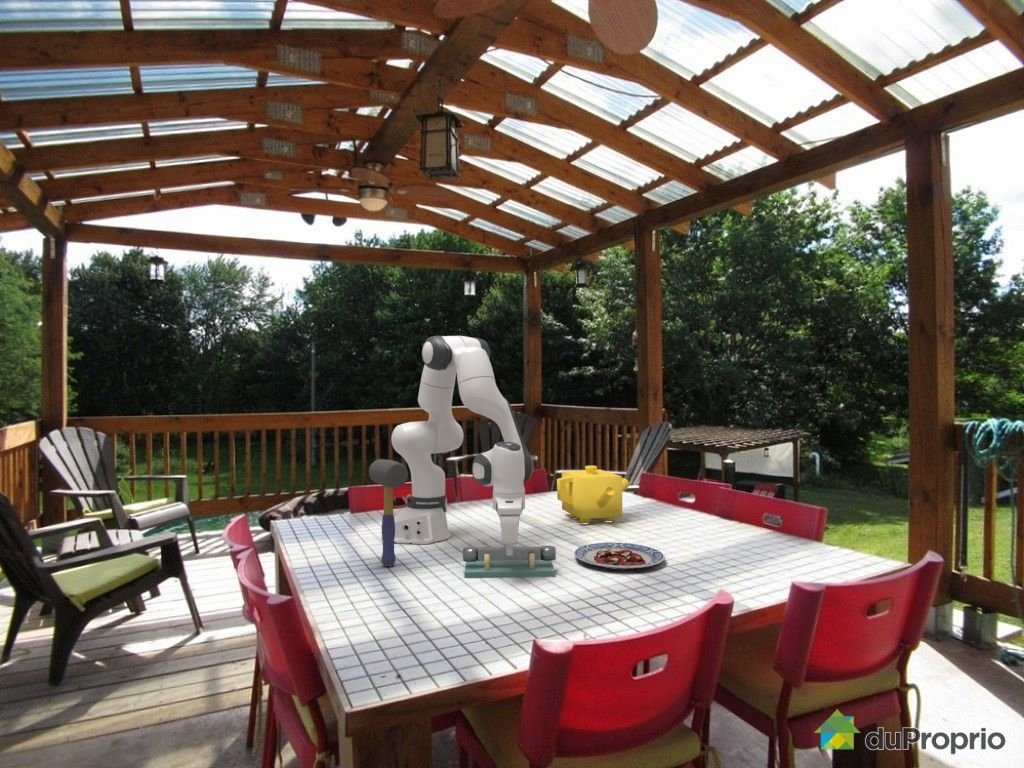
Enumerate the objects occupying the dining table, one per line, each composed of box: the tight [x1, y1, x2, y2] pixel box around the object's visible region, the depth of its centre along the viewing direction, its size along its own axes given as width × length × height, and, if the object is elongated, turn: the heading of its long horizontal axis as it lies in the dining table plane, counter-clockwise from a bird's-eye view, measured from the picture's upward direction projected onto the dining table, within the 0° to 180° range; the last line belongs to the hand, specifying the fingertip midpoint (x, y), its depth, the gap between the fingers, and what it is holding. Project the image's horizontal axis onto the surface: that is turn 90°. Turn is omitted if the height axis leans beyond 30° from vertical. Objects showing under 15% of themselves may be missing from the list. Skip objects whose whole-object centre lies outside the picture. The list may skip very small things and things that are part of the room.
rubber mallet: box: [368, 458, 409, 567], centre depth 174 cm, size 12×8×30 cm, turn 37°
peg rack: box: [463, 553, 556, 579], centre depth 168 cm, size 24×10×6 cm, turn 92°
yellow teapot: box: [556, 465, 631, 524], centre depth 233 cm, size 35×29×20 cm
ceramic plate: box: [573, 542, 666, 570], centre depth 178 cm, size 26×26×3 cm
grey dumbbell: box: [462, 545, 557, 563], centre depth 168 cm, size 25×4×3 cm, turn 92°
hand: (509, 552), depth 168 cm, fingers closed on grey dumbbell, 3 cm apart
